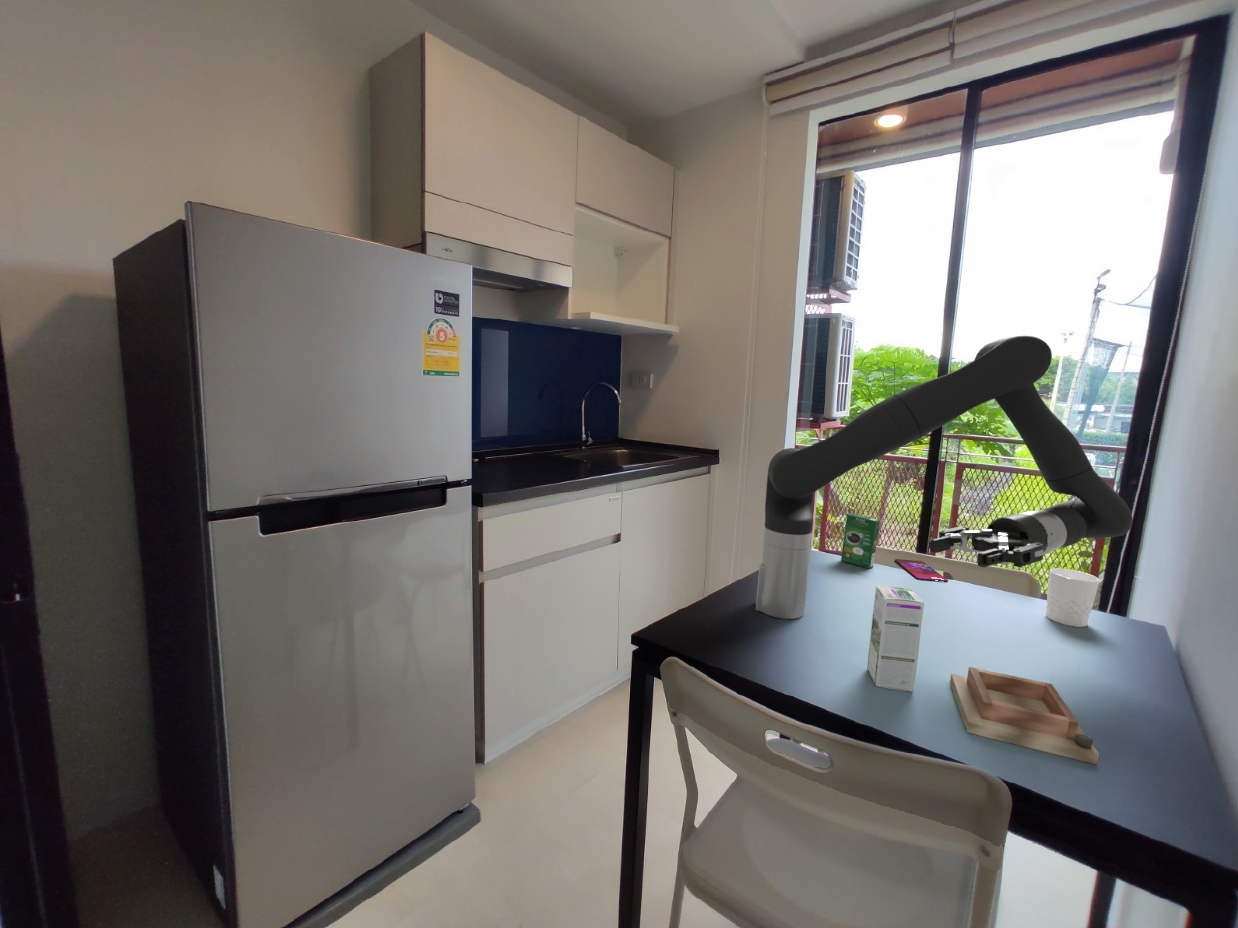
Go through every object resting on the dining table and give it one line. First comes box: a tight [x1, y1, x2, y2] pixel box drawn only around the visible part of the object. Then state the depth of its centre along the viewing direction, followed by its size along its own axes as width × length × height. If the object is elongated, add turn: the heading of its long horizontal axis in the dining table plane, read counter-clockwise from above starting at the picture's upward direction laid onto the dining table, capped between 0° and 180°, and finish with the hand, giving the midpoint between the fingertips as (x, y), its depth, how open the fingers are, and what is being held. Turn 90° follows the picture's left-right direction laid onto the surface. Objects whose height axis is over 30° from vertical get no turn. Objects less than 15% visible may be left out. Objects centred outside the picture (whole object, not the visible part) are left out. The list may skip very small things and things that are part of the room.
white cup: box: [1045, 567, 1100, 628], centre depth 113 cm, size 8×8×10 cm
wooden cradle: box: [949, 666, 1100, 765], centre depth 77 cm, size 14×14×4 cm
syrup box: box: [866, 585, 925, 692], centre depth 85 cm, size 6×6×14 cm
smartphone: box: [894, 558, 949, 583], centre depth 141 cm, size 8×1×15 cm
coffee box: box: [840, 513, 881, 570], centre depth 143 cm, size 8×3×13 cm, turn 44°
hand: (954, 553), depth 87 cm, fingers open, 8 cm apart
